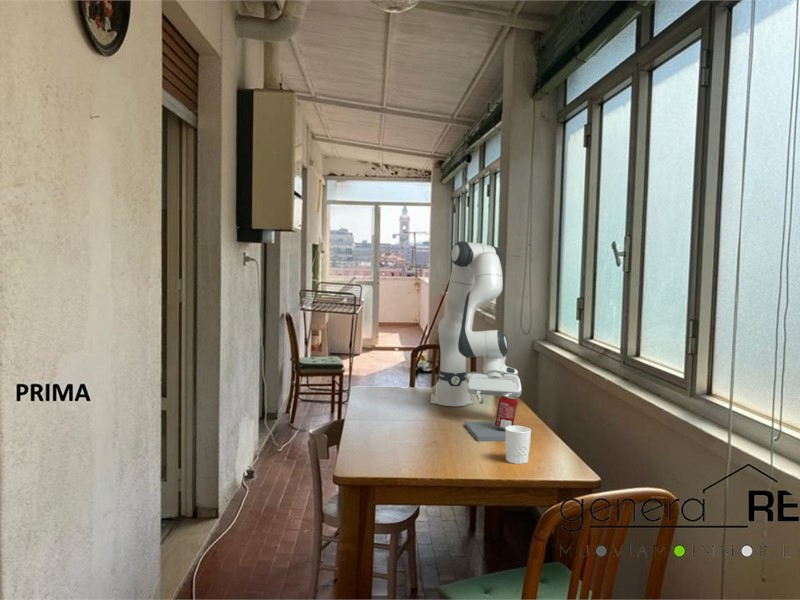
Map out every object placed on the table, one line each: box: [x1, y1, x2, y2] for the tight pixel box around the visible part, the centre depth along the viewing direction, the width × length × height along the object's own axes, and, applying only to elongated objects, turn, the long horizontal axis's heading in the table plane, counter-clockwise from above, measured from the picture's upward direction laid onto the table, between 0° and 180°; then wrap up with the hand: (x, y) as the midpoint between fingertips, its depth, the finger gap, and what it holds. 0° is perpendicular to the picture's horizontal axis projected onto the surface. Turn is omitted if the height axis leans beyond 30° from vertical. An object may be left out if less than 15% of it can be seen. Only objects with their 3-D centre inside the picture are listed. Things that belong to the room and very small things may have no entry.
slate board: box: [464, 421, 517, 442], centre depth 219 cm, size 20×18×2 cm
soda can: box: [493, 393, 519, 430], centre depth 218 cm, size 7×7×12 cm
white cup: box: [504, 425, 532, 465], centre depth 188 cm, size 8×8×10 cm
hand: (493, 403), depth 226 cm, fingers open, 8 cm apart
